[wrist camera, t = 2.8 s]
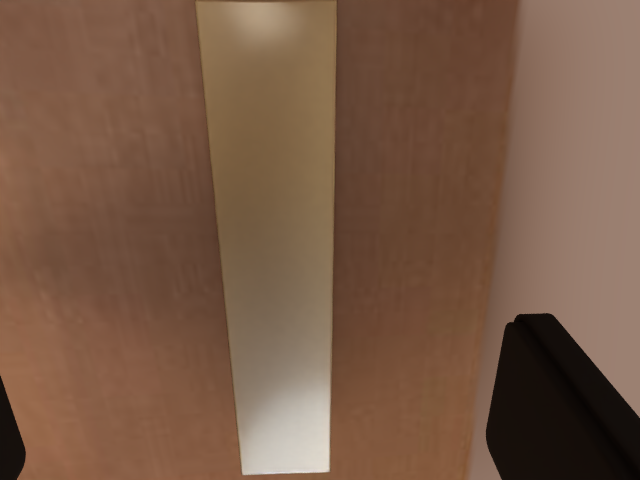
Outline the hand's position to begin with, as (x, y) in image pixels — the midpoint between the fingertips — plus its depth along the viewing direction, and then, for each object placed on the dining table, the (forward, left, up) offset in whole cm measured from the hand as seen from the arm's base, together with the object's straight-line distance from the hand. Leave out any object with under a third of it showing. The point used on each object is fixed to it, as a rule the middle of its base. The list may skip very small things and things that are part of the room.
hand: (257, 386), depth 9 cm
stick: (0, 0, -5) cm, 5 cm away
